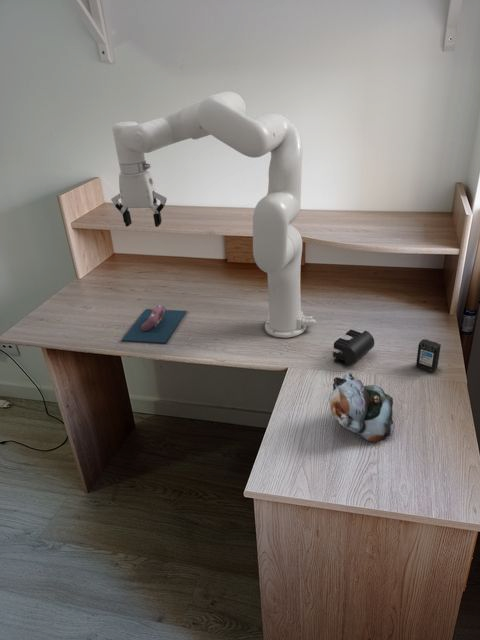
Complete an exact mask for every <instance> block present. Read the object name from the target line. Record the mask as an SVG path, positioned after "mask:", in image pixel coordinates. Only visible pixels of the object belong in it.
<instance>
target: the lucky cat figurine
mask: <svg viewBox="0 0 480 640" xmlns="http://www.w3.org/2000/svg"><path fill="white" fill-rule="evenodd" d="M332 388H333V389H332V392H331V393H330V396H329V397H328V399H329V407H330V408H329V409H330V412H331V414H332V416H333V418H334V419H336V421H338V423H339V425H341V426H342V427H344V428H345V429H346V430H348V431H350V432H352V433H354V434H357V435H359V436H361V437H362V438H364V439H365V440H367V441H369V442H372V443H376V442H379V441H381V440H384V439H386V438H388V437H392V436H393V435H394V431H395V422H394V421H393V406H394V399H393V397H392V396H391V395H390V394H388V393H385V391H384V389H383V388H382V387H380V386H378V385H375V384H368V385H367V384H366V385H364V382H362V380H361V379H360V378H357V377H354V376H353V374H352V373H351V372H345V373H344V376H343V377H342V378H341V377H337V376H336V377H334V378H333V383H332Z"/></svg>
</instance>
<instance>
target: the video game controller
mask: <svg viewBox="0 0 480 640" xmlns="http://www.w3.org/2000/svg"><path fill="white" fill-rule="evenodd" d="M152 309H153V310H152V313H151V315H150V316H149V318H148V320H147V321H146V322H145V323H143V324H142V325H141V330H142V331H148V330H150V329H151V328H152V327H154V328H155V327H156V325H157V324H159V322H160V321H161V320H162V319H161V318H162V316H163V314H164V313H165V310H167V307H166V306H164V305H160V304H159V305H157V306H156V307H154V308H152Z"/></svg>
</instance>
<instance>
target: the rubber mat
mask: <svg viewBox="0 0 480 640" xmlns="http://www.w3.org/2000/svg"><path fill="white" fill-rule="evenodd" d="M153 309H154V308H151V309H150V308H145V310H144V311H143V312H142V314H141V315H140V316H139V317H138V318H137V320H136V321H135V322H134V324H133V325H132V326H131V327H130V328H129V330H128V331H127V332H126V333H125V335H124V336H123V337H122V339H121V342H123V343H124V342H125V343H139V344H159V345H166V344H167V343H168V341H169V340H170V339H171V337H172V335H173V334H174V332H175V331H176V329H177V328H178V326H179V324H180V323H181V322H182V320H183V318H184V316H185V315H186V313H187V310H180V309H179V310H175V309H166V310H165V313H164V314H163V316H162V318H161V319H162V320H161V321H160V322H159V324H157V325H156V327H155V328H154V327H152V328H151V329H150V330H148V331H142V330H141V325H142V324H143V323H145V322H146V321H147V320H148V318H149V316H150V315H151V313H152V310H153Z"/></svg>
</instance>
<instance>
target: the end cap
mask: <svg viewBox="0 0 480 640" xmlns="http://www.w3.org/2000/svg"><path fill="white" fill-rule="evenodd" d="M345 336H348V337H351V338H350V339H344V338H341V337H339V338H338V339H337V340H335V341H334V342H333V349H334V350H337V351H338V352H337V351H334V352H333V353H332V354H333V355H332V356H333V358H334V359H333V362H334V363H335V364H339V365H341V366H344V367H351V366H353V365H355V364H356V363H357V362H358V361H359V360H361V358H363V357H364V356H365V355H366V354H367V353H369V352H370V351H371V350H372V349H373V348H374V346H375V339H374V336H373V334H371V333H370V332H369V331H367V330H364V331H362V332H360V331H357V330H354V329H349V330H348V331H347V332H345Z"/></svg>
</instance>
